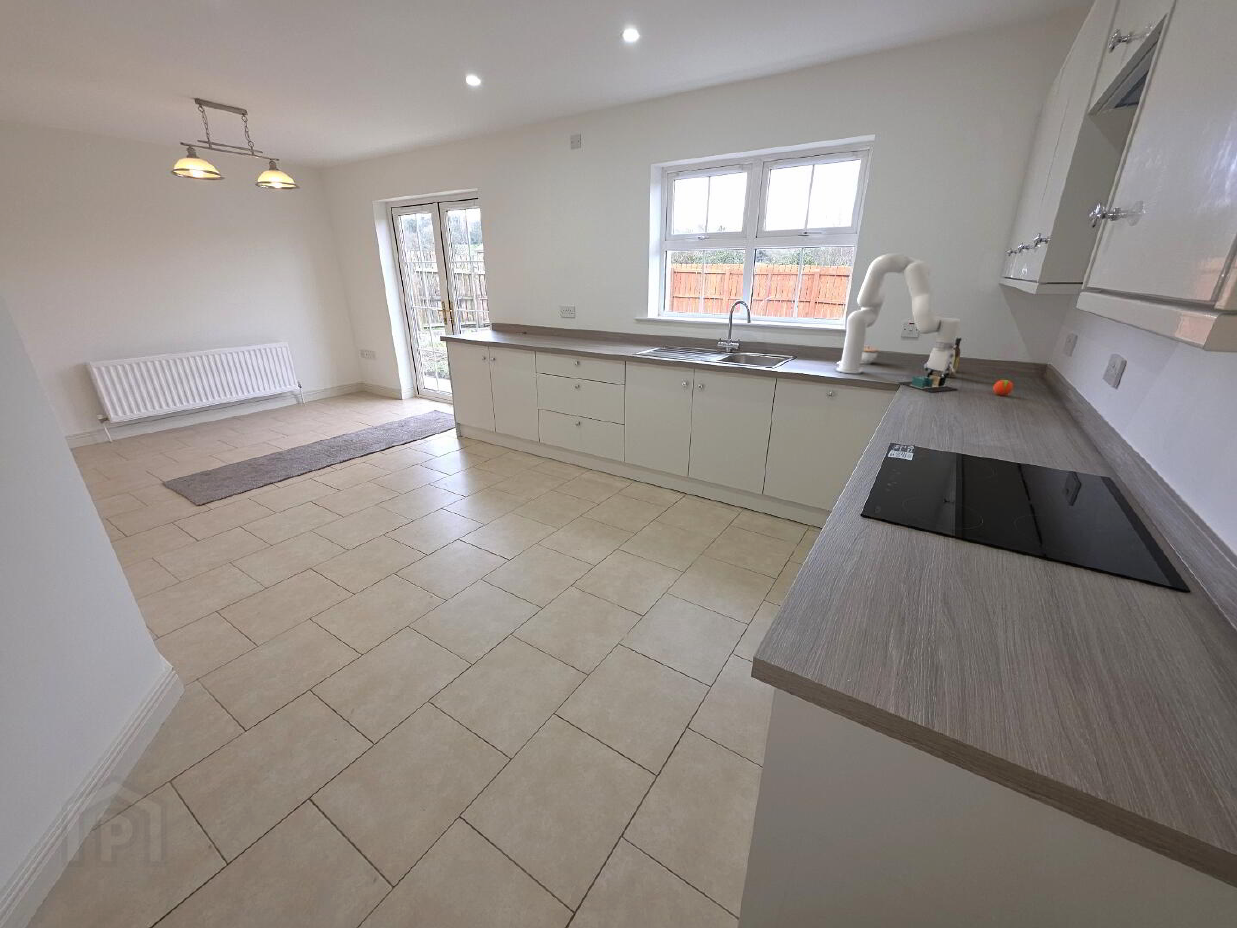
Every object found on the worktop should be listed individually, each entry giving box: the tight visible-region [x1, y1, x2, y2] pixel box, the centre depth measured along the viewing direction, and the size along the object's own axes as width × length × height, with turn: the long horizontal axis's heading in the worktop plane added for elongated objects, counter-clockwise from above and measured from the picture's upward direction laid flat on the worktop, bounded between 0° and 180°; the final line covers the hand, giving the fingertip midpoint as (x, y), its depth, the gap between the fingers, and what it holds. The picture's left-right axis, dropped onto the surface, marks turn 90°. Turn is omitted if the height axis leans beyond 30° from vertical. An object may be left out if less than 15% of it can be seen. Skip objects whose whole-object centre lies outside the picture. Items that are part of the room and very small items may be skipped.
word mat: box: [898, 380, 958, 394], centre depth 230 cm, size 18×16×1 cm
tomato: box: [992, 379, 1014, 396], centre depth 215 cm, size 8×7×7 cm
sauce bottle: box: [944, 336, 962, 379], centre depth 246 cm, size 7×6×20 cm
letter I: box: [929, 374, 941, 386], centre depth 230 cm, size 6×2×4 cm, turn 18°
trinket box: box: [860, 345, 879, 365], centre depth 280 cm, size 11×11×9 cm
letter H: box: [911, 375, 934, 388], centre depth 228 cm, size 6×6×4 cm
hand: (934, 383), depth 231 cm, fingers closed on letter I, 6 cm apart
